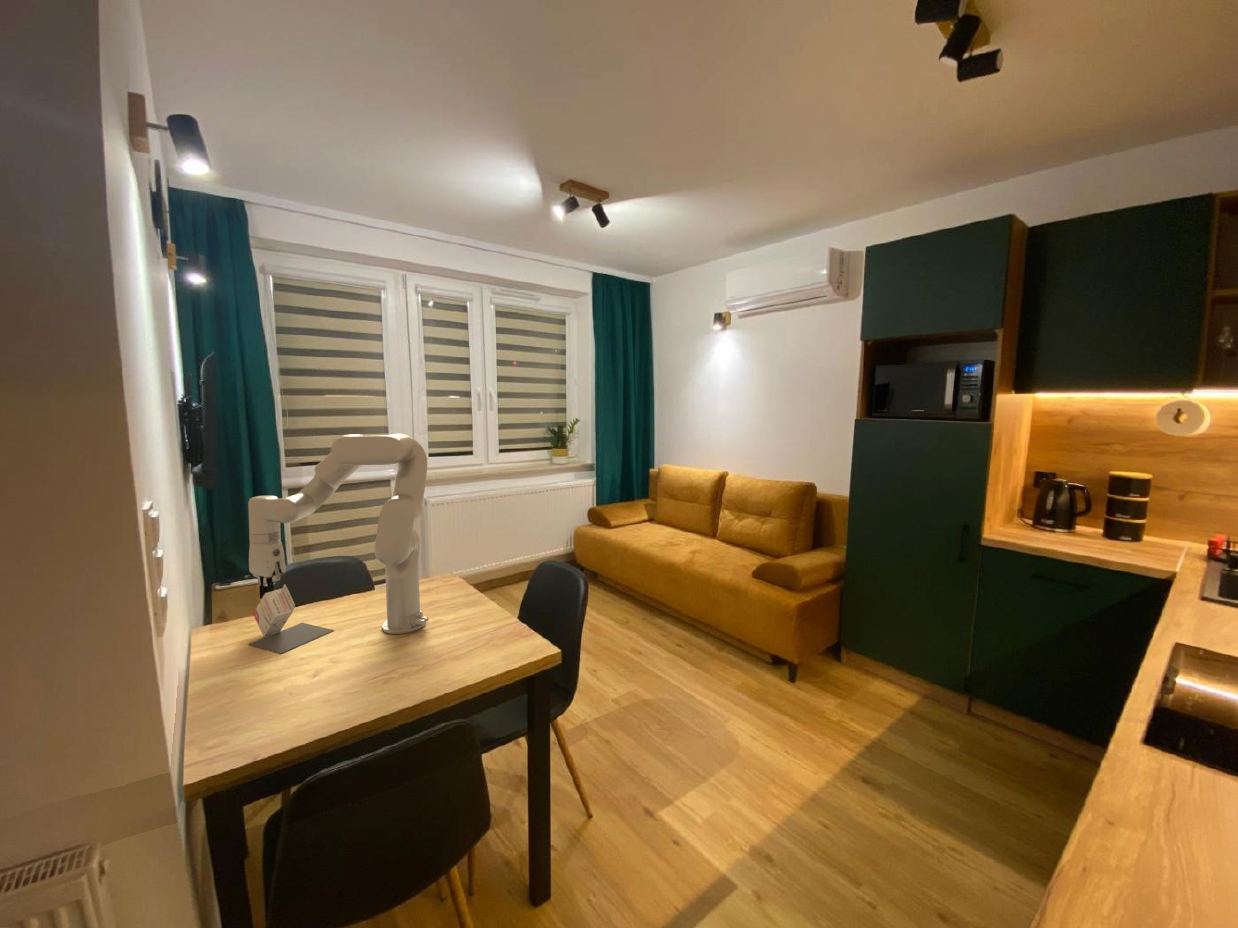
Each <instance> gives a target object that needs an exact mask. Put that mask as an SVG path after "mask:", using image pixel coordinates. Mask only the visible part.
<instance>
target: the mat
mask: <svg viewBox="0 0 1238 928" xmlns="http://www.w3.org/2000/svg"><path fill="white" fill-rule="evenodd" d="M334 631H335V630H334V629H331V628H327V627H324V626H323V627H322V626H318V625H314V624H309V623H305V622H301V623H298V624H295V625H293V626H290V627H287V628H285V629H283V630H282V629H281V631H279V632H276V633H273V634H271V635H268V636H265V637H262V638H260V639H258V640H256V641H252V642H250V643H248V644H247V645H248V646H251V647H254V648H258V649H262V650H265V651H268V650H269V652H272V651H273V653H275V654H279V653H280V654H279V655H282V654H285V653H287V652H289V651H292V650H293V649H296V648H298V647H300V645H301V646H303V645H305V644H308V643H309V642H312V641H314V640H317V639H319V638H321V637H323V636H326V635H328V634H330V633H332V632H334ZM284 652H285V653H284Z"/></svg>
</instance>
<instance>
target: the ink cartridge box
mask: <svg viewBox="0 0 1238 928" xmlns="http://www.w3.org/2000/svg"><path fill="white" fill-rule="evenodd" d="M292 597H293V596H292V595H291V593H290V591H289V589H288V587H287V584H285V583H284V584H283V586H282V588H279V589H274V591H271V592H268V593H265V594H264V596H263V598H262V599H260V601H259V603H258V604H257V606H256V608H255V609H254V610H253V611H254V612H253V613H252V614H253V616H254V618H255V621H256V624H257V625H258V628H259V629H260V633H261V634H262V636H263V637H262V638H265V637H267V636H270V635H272V634H275V633H277V632H280V631H282V629H283V628H284V626H285V624H286V623H287V621H288V620H289V618H290V617H291V615H292V614H293V613H294V610H295V608H296V604H295V602H294V600H293V598H292Z"/></svg>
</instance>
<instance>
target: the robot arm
mask: <svg viewBox="0 0 1238 928" xmlns="http://www.w3.org/2000/svg"><path fill="white" fill-rule="evenodd" d="M427 456H428V455H427V453H426V452H425V449H424V447H423V446H422V445H421V444H420V443H419V442H418V441H417V439H415V438H413V437H411V436H410V435H407V434H404V433H393V434H392V433H391V434H385V435H383V434H382V435H362V434H358V433H357V434H356V433H355V434H346V435H345V434H344V435H342V436H339V437H338V438H336V439H335V440H334V441H333V442H332V444H331V445H330V451H329V453H328V454H327V455H326V456H325V457H324V458H322V460H321V461H320V462H319V463H317V464H316V465H315V467H314V476H313V477H312V479H311V480H310V481H309V482H308V483H307V484H306V485H305V486H304V487H303V488H301V489H300V490H299V491H297V493H296V494H292V495H288V496H286V497H282V498H279V497H278V496H276V495H258V496H257V495H256V496H254V497H251V498H250V499H249V500H248V529H249V530H248V531H249V532H248V533H249V535H248V536H249V551H248V569H249V572H250V574H252V576H253V577H254V578H256V580H257V585H258V586H259V587H258V590H259V599H260V600H261V599H262V598H263V596H264V594H265V593H268V592H271V591H275V584H276V582H278V581H280V580H281V575H284V574H286V560H285V550H284V546H283V542H282V540H281V539H282V537H281V533H282V532H281V524H282V523H283V524H290V523H295V522H297V521H300V520H301V519H303V518H307V517H309V516H310V515H312V514H313V513H315V512H316V511H317V510H318V509H319V508H320V507H321V506H322V505H324V503H326V501H328V499H330V498H331V497H332V496H333V494H334V493H335V492H336V491H337V490H338V489H339V487H340V486H341V485H342V484H343V483H344V482H345V481H346V480H347V479H348V478H349V477H350V476H351V475H352V474H353V473H355V472H356V471H357V470H358V469H359V468H360V467H361V466H387V465H394V464H398V469H397V473H396V477H395V481H394V482H395V483H394V489H393V493H392V497H391V498H389V499H388V500H386V501H385V503H384V504H383V505H382V507H381V509H380V512H379V516H378V522H377V529H376V536H375V540H374V553H375V557H376V558H377V560H378V561H379V562H380V563H381V564H383V565H384V566H385V574H384V575H385V597H386V599H385V600H386V620H385V621H384V622H383V623H382V624H381V630H382V631H383V632H384V633H386V634H390V635H400V634H401V635H402V634H409V633H411V632H415V631H418V630H420V629H421V628H423V627H425V626H426V625H427V623H428V622H429V619H430V618H429V617H427V616H423V615H424V614H423V613H424V612H423V610H421V600H420V567H419V566H420V551H421V550H420V548H421V546H420V545H421V541H420V536H419V534H418V532H417V531H416V530H415V529H414V523H415V522H416V521H417V519H419V517H420V516H421V514H422V511H423V505H424V503H423V502H424V495H425V488H426V481H427V473H428V458H427Z"/></svg>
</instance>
